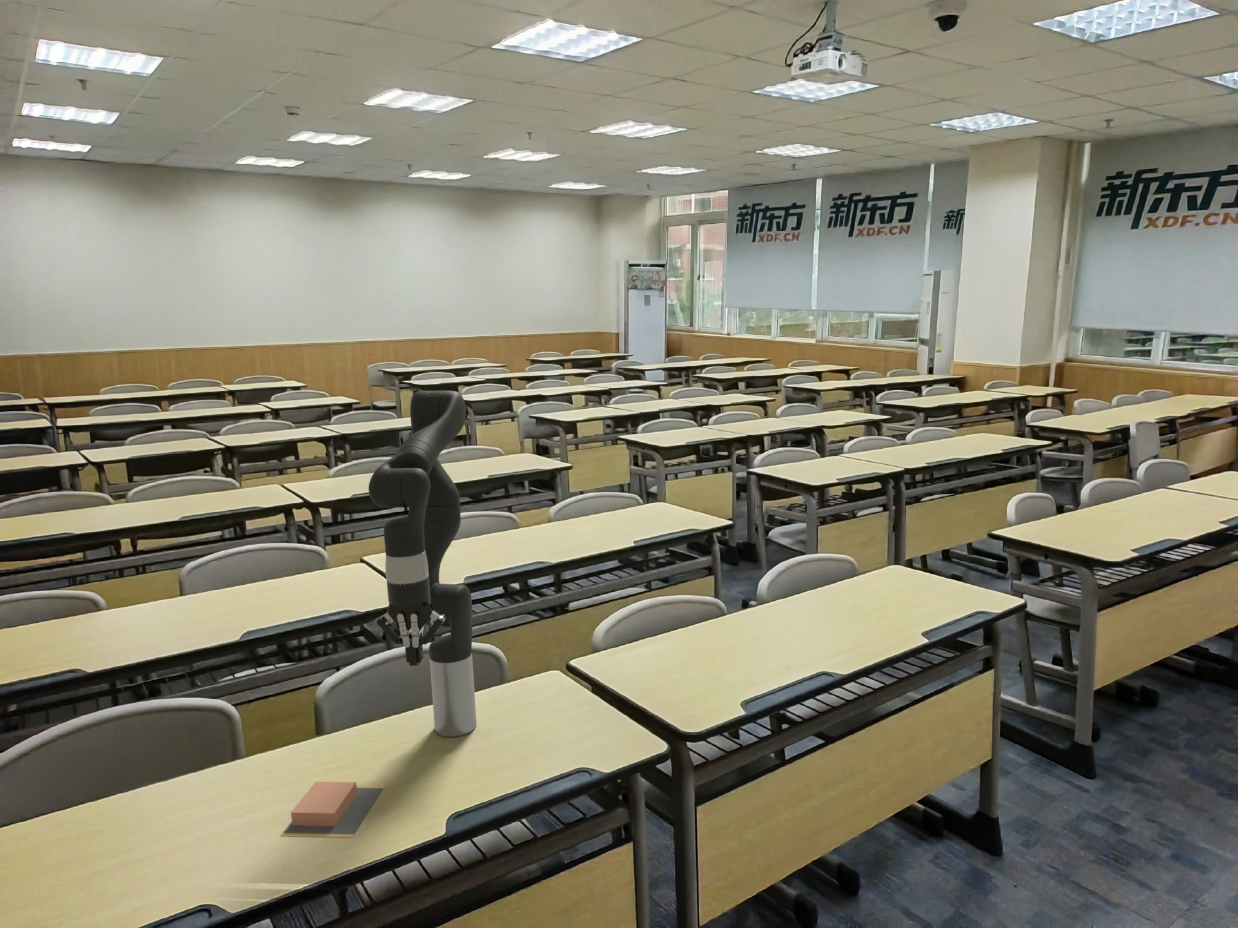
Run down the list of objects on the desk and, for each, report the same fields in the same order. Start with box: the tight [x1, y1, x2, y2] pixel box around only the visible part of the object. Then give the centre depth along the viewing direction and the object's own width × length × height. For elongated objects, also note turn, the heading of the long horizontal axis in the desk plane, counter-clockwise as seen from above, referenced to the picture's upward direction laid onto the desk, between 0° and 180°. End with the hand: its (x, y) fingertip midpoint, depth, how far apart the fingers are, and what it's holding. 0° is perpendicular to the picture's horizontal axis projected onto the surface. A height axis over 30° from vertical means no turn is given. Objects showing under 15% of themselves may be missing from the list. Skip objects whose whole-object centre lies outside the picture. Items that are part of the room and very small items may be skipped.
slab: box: [290, 781, 358, 827], centre depth 151 cm, size 10×3×8 cm
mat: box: [280, 785, 386, 839], centre depth 151 cm, size 16×13×1 cm
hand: (415, 663), depth 152 cm, fingers closed
